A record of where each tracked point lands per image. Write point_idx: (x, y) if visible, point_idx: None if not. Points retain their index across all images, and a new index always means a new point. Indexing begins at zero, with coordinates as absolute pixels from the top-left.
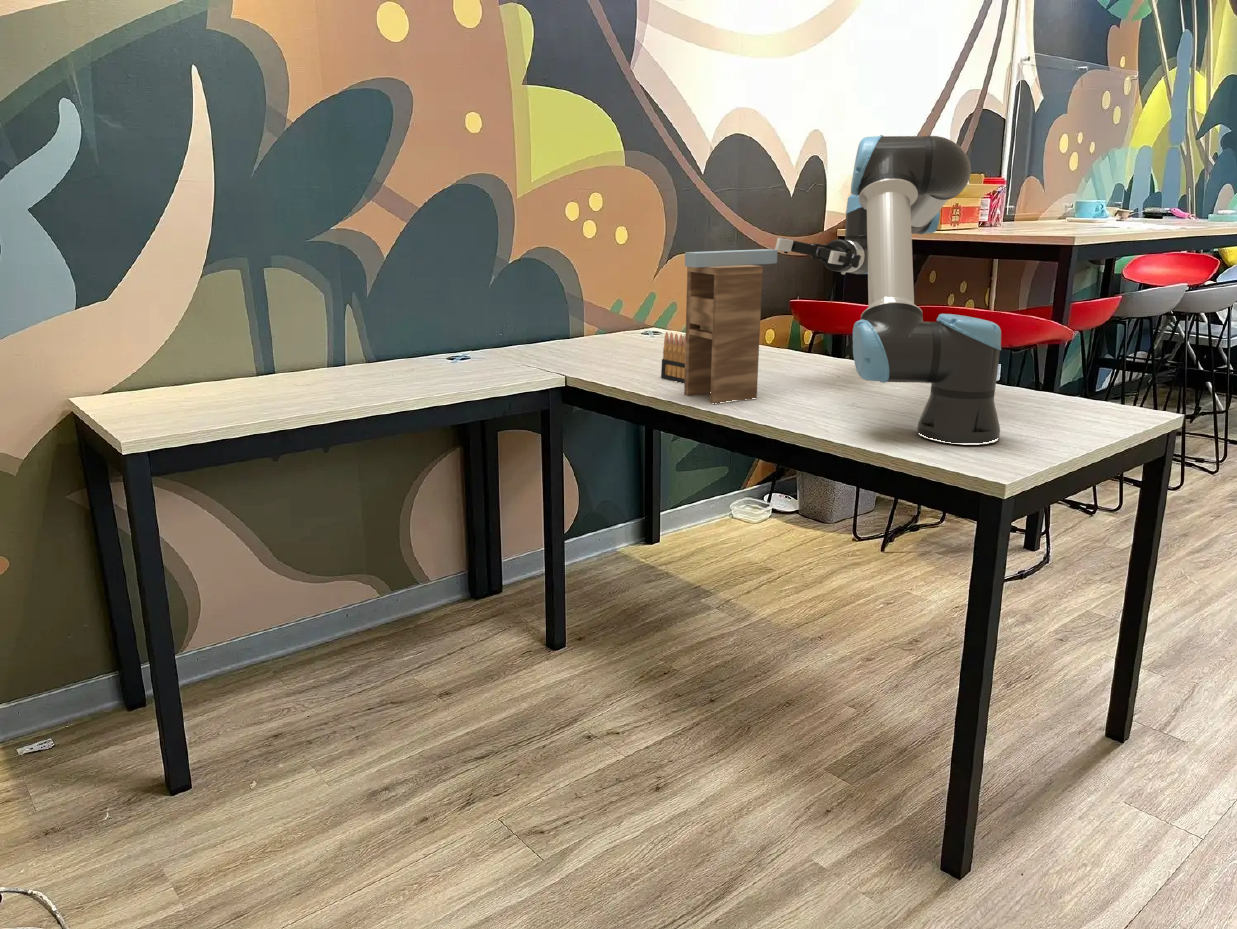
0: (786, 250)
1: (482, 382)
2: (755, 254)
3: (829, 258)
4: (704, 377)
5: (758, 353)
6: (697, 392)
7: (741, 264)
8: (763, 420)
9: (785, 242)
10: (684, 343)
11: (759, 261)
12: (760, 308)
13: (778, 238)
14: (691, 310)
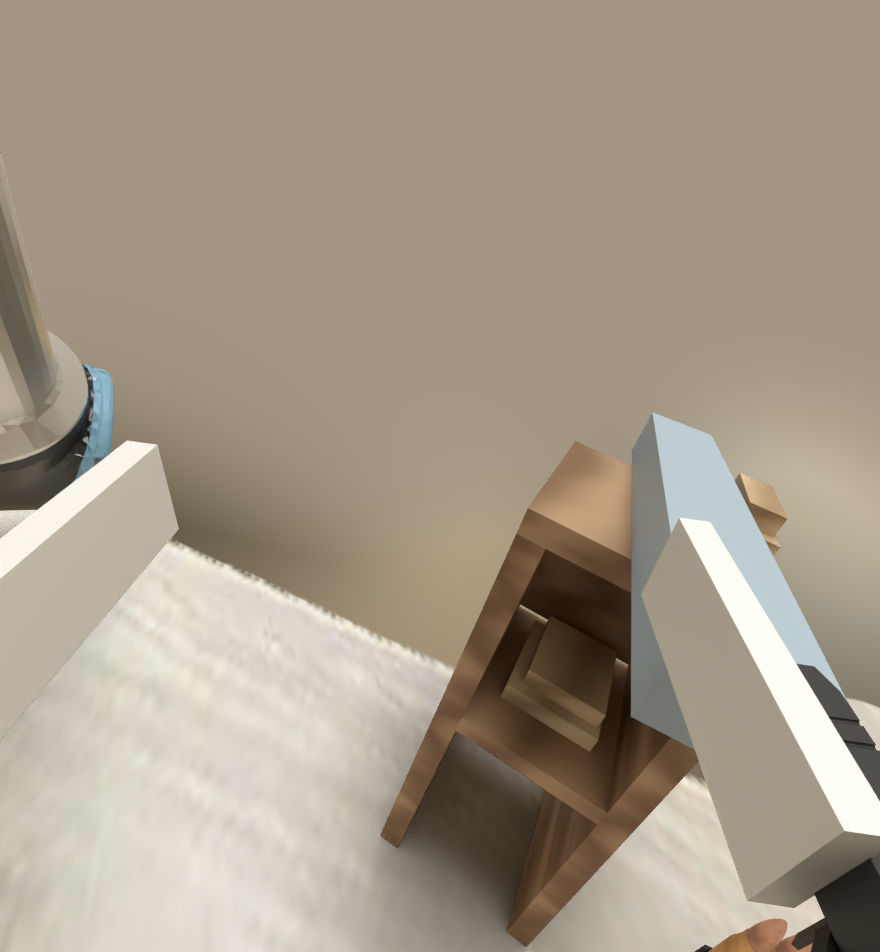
0: (701, 750)
1: (876, 723)
2: (657, 538)
3: (167, 499)
4: (552, 804)
5: (418, 752)
6: (542, 806)
7: (632, 531)
8: (302, 623)
9: (708, 630)
10: (788, 937)
11: (638, 589)
12: (466, 644)
13: (697, 524)
14: None
